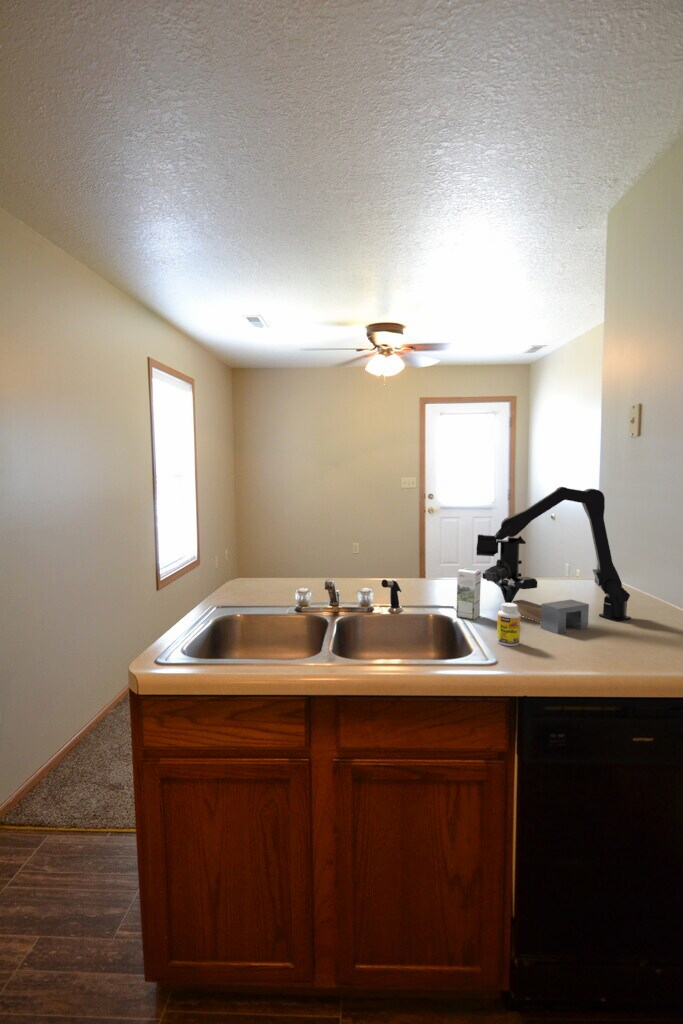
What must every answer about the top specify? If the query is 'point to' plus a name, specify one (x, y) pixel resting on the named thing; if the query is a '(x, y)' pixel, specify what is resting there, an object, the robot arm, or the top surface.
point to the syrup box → (468, 593)
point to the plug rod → (529, 609)
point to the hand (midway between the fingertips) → (508, 605)
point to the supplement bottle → (508, 625)
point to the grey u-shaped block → (564, 615)
